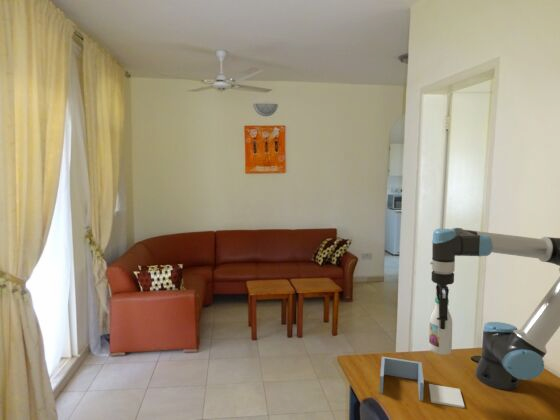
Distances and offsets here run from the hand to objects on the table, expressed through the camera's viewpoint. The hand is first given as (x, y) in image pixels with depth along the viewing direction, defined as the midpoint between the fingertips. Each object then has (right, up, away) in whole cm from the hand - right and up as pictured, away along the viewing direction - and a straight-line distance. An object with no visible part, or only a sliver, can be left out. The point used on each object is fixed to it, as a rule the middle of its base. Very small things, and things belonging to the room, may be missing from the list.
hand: (440, 331), depth 139 cm
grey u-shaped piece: (-12, -24, +8) cm, 28 cm away
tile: (+2, -25, +1) cm, 25 cm away
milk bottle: (0, -7, +1) cm, 7 cm away
